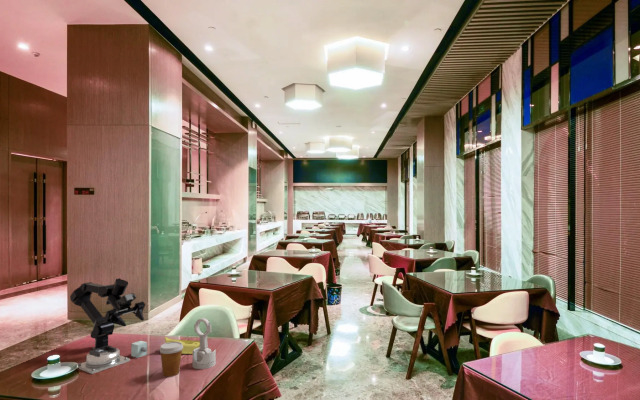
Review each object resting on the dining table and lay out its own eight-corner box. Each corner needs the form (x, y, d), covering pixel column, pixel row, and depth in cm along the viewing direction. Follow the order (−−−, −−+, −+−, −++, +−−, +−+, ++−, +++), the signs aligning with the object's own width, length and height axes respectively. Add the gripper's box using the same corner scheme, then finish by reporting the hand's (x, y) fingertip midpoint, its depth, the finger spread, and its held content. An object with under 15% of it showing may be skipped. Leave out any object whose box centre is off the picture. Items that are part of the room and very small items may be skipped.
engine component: (204, 370, 159) (220, 362, 168) (205, 322, 160) (220, 317, 169) (186, 366, 164) (202, 358, 173) (186, 320, 165) (202, 314, 174)
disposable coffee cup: (168, 380, 149) (168, 350, 150) (154, 375, 154) (154, 346, 155) (187, 372, 157) (188, 343, 158) (173, 367, 162) (174, 340, 163)
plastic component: (207, 341, 191) (203, 338, 182) (205, 356, 187) (200, 354, 178) (169, 339, 190) (163, 336, 181) (165, 354, 186) (159, 352, 177)
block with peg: (131, 356, 177) (131, 343, 177) (140, 352, 181) (141, 340, 181) (139, 358, 173) (140, 346, 173) (149, 355, 177) (149, 342, 178)
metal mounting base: (75, 367, 163) (75, 352, 163) (113, 355, 178) (113, 341, 178) (91, 374, 156) (92, 358, 156) (130, 360, 170) (130, 346, 171)
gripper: (103, 294, 173) (120, 315, 166) (140, 285, 189) (157, 304, 182) (97, 312, 176) (113, 333, 169) (133, 302, 192) (149, 322, 185)
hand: (134, 322), depth 176 cm, fingers open, 9 cm apart
